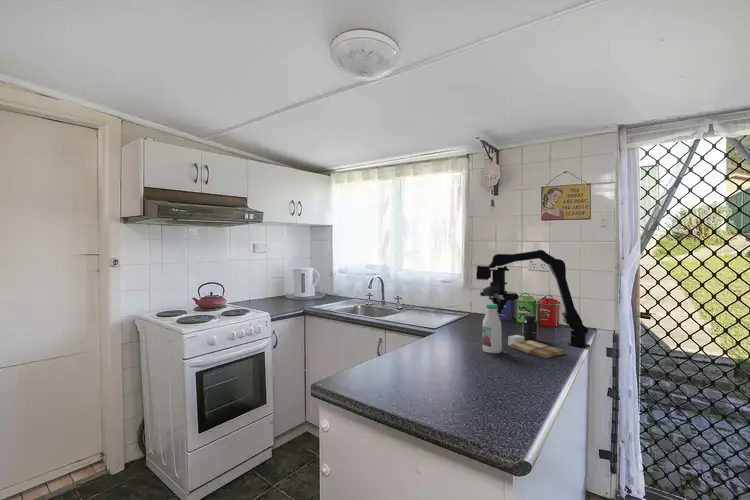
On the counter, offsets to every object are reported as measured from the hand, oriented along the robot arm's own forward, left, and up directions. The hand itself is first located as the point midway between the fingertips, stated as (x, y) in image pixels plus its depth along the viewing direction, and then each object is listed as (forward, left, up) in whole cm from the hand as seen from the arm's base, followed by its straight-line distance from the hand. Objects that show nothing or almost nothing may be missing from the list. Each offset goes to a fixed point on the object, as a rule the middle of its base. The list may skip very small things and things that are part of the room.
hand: (498, 312), depth 169 cm
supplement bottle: (-12, +8, -13) cm, 20 cm away
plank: (-1, +17, -13) cm, 21 cm away
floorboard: (-1, +26, -13) cm, 29 cm away
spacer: (0, +10, -13) cm, 17 cm away
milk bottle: (+17, +12, -13) cm, 25 cm away
